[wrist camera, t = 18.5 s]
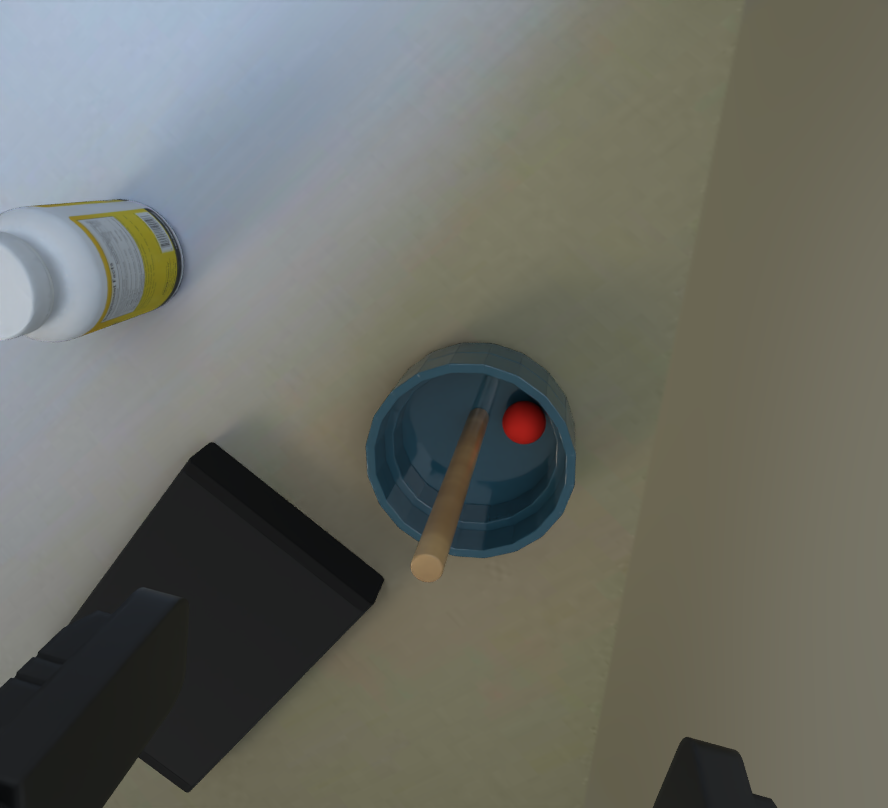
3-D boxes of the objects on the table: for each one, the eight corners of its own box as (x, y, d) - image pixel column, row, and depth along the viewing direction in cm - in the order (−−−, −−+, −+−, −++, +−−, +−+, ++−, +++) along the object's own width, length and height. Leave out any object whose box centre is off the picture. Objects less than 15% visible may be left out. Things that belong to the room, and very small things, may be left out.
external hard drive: (384, 578, 45) (372, 606, 42) (207, 761, 53) (187, 794, 51) (211, 441, 44) (187, 459, 41) (57, 649, 52) (29, 677, 49)
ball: (518, 426, 36) (556, 411, 37) (494, 400, 38) (531, 387, 39) (516, 458, 38) (552, 443, 39) (493, 432, 39) (529, 418, 40)
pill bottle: (68, 259, 42) (-107, 293, 31) (120, 173, 39) (-50, 177, 28) (154, 332, 42) (11, 389, 31) (209, 251, 40) (77, 283, 29)
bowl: (362, 370, 41) (335, 397, 36) (542, 315, 38) (539, 336, 33) (424, 531, 44) (407, 575, 39) (596, 491, 41) (600, 533, 36)
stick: (466, 409, 40) (406, 556, 25) (486, 405, 40) (438, 551, 25) (471, 429, 40) (415, 585, 25) (491, 425, 40) (446, 580, 25)
